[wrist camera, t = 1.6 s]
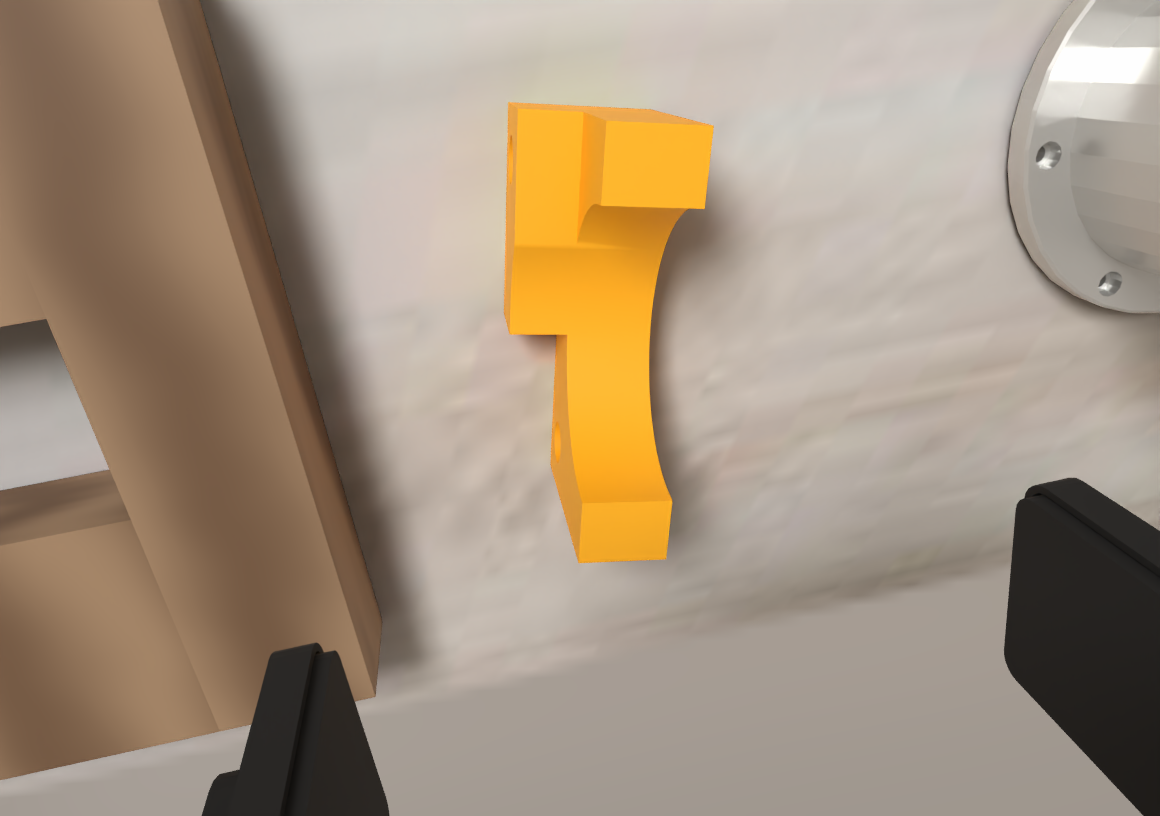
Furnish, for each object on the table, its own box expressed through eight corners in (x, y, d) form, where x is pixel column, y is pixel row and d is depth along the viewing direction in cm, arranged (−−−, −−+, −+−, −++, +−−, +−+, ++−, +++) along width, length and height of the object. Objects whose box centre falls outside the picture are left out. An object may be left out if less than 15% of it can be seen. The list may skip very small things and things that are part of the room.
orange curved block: (508, 102, 25) (530, 117, 19) (649, 109, 26) (713, 125, 20) (500, 463, 30) (517, 565, 24) (620, 461, 30) (665, 559, 24)
